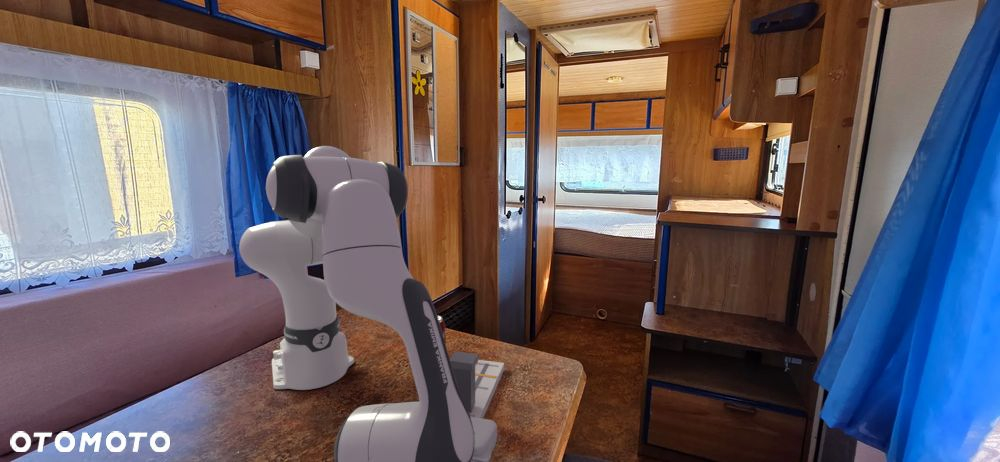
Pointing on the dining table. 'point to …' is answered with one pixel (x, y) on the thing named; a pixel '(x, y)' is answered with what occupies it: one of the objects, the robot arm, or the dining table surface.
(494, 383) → the slider box
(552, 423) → the dining table surface
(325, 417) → the dining table surface
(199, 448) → the dining table surface
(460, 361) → the slider knob
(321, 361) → the robot arm
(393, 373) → the dining table surface
